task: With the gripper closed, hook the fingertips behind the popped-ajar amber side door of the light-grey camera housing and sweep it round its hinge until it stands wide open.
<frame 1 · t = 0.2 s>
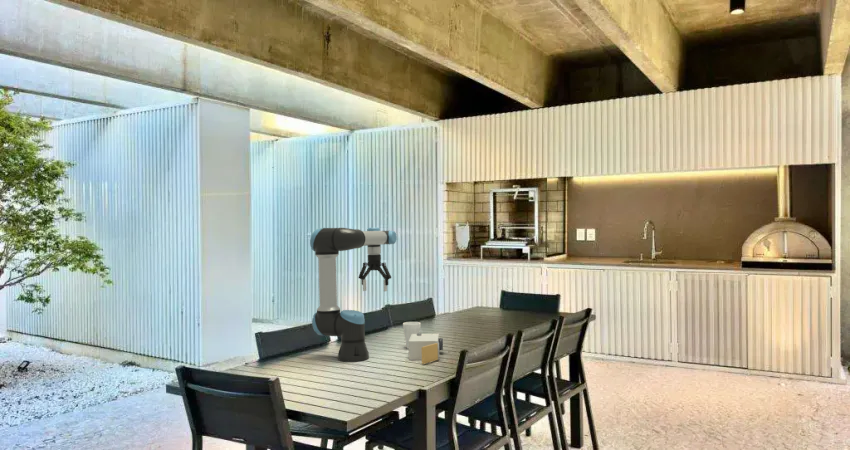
hand: (375, 291, 346), 28 cm above the table, fingers open, 13 cm apart
foam cup: (412, 348, 320), on the table
door: (430, 353, 284), point 4 cm above the table, hinge at 55.0°
housing: (424, 355, 299), on the table
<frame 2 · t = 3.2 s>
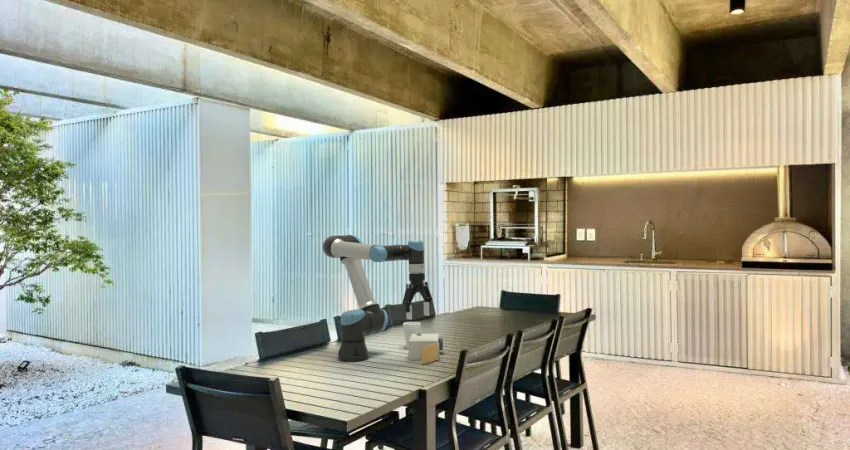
hand: (418, 317, 286), 21 cm above the table, fingers open, 13 cm apart
nothing on the table moved.
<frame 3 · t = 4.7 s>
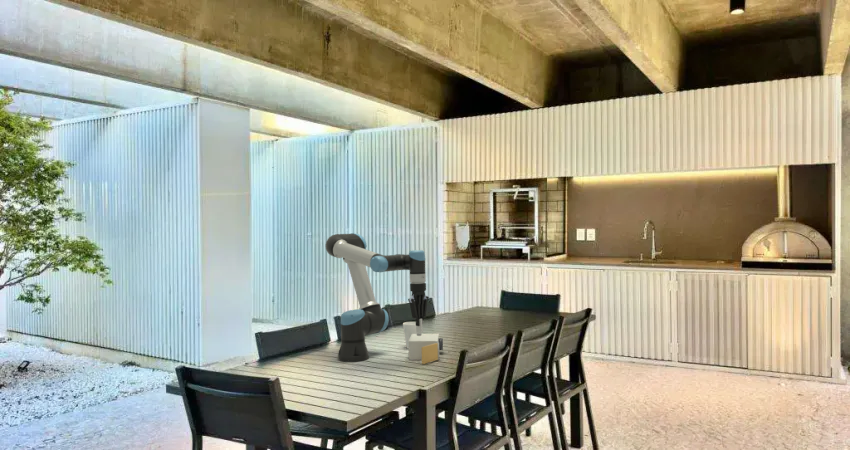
hand: (419, 332, 284), 14 cm above the table, fingers closed
nothing on the table moved.
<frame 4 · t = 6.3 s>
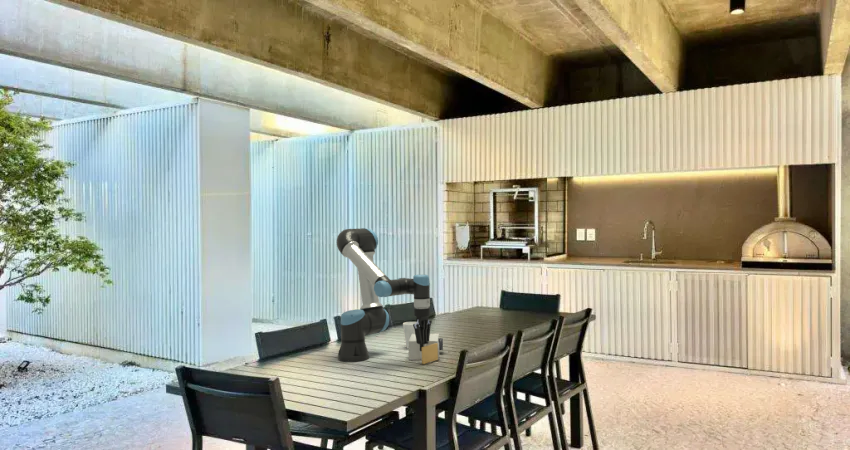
hand: (423, 357, 282), 3 cm above the table, fingers closed
door: (430, 353, 284), point 4 cm above the table, hinge at 55.4°, touching gripper
everything else where it was.
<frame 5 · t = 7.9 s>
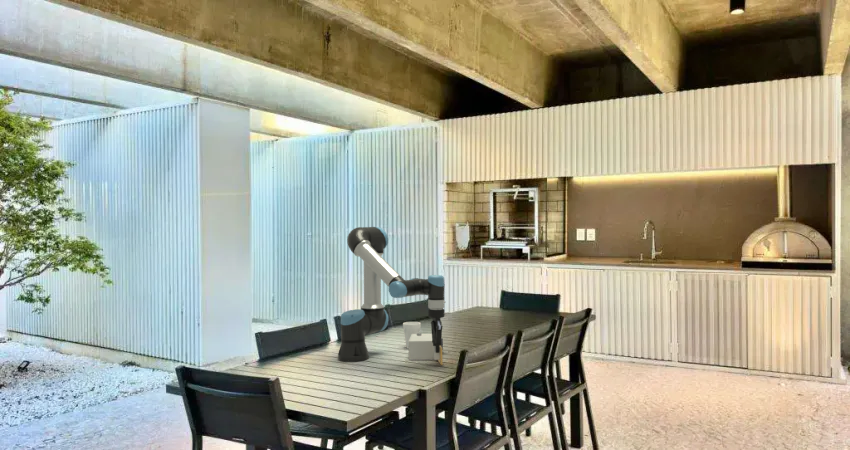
hand: (436, 359, 279), 2 cm above the table, fingers closed
door: (439, 353, 283), point 4 cm above the table, hinge at 100.0°, touching gripper
everything else where it was.
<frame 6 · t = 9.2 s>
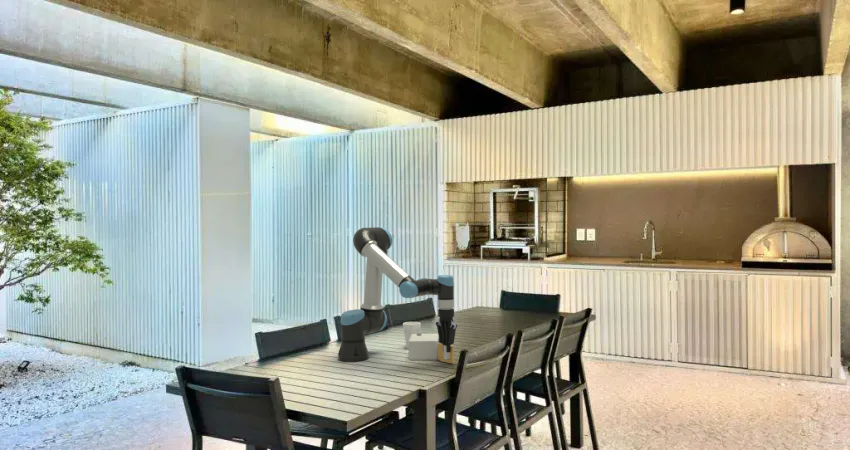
hand: (446, 358, 280), 2 cm above the table, fingers closed
door: (445, 352, 284), point 4 cm above the table, hinge at 128.8°, touching gripper
everything else where it was.
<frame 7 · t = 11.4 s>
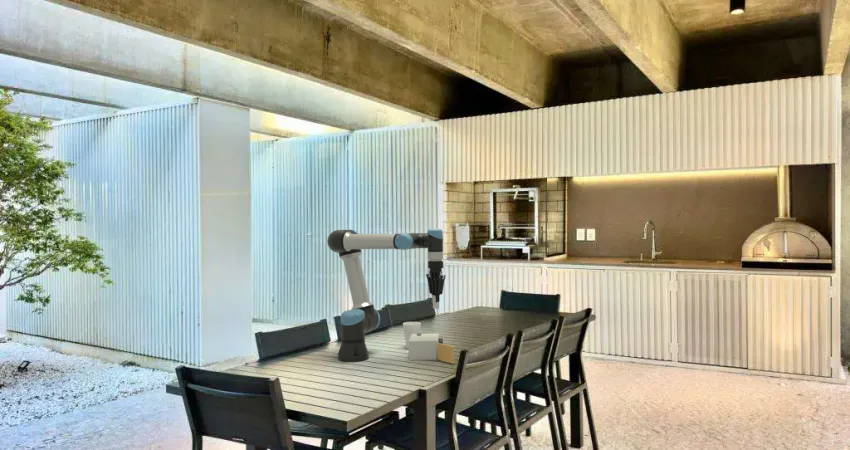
hand: (436, 308, 294), 24 cm above the table, fingers closed
door: (445, 352, 284), point 4 cm above the table, hinge at 128.9°
everything else where it was.
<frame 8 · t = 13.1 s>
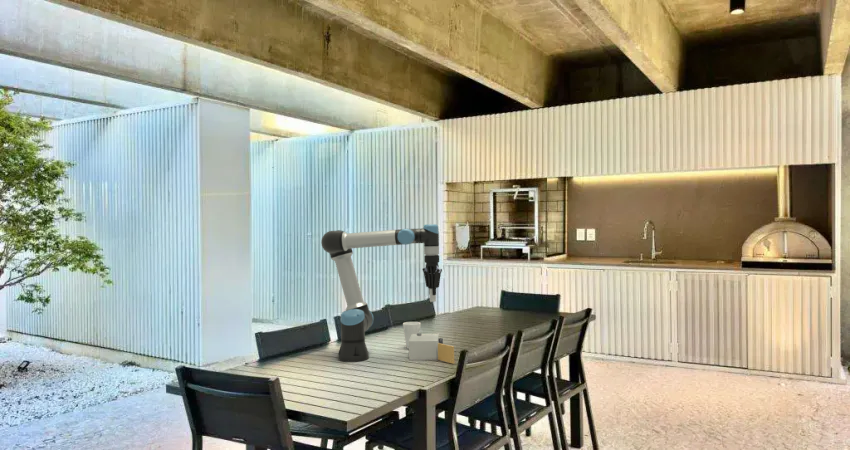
hand: (432, 301, 303), 26 cm above the table, fingers closed
nothing on the table moved.
at the end: door at +129° (first picture: +55°) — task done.
